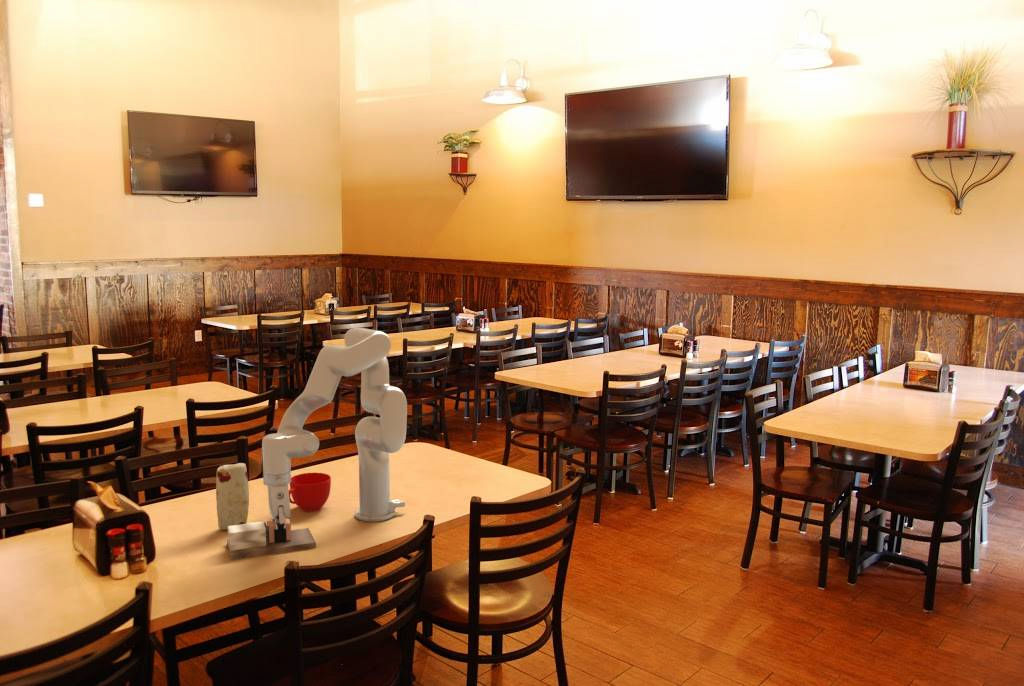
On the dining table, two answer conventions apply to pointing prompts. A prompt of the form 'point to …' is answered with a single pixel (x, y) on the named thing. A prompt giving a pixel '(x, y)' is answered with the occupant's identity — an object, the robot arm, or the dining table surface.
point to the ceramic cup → (310, 490)
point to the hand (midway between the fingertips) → (279, 538)
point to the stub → (272, 526)
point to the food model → (232, 495)
